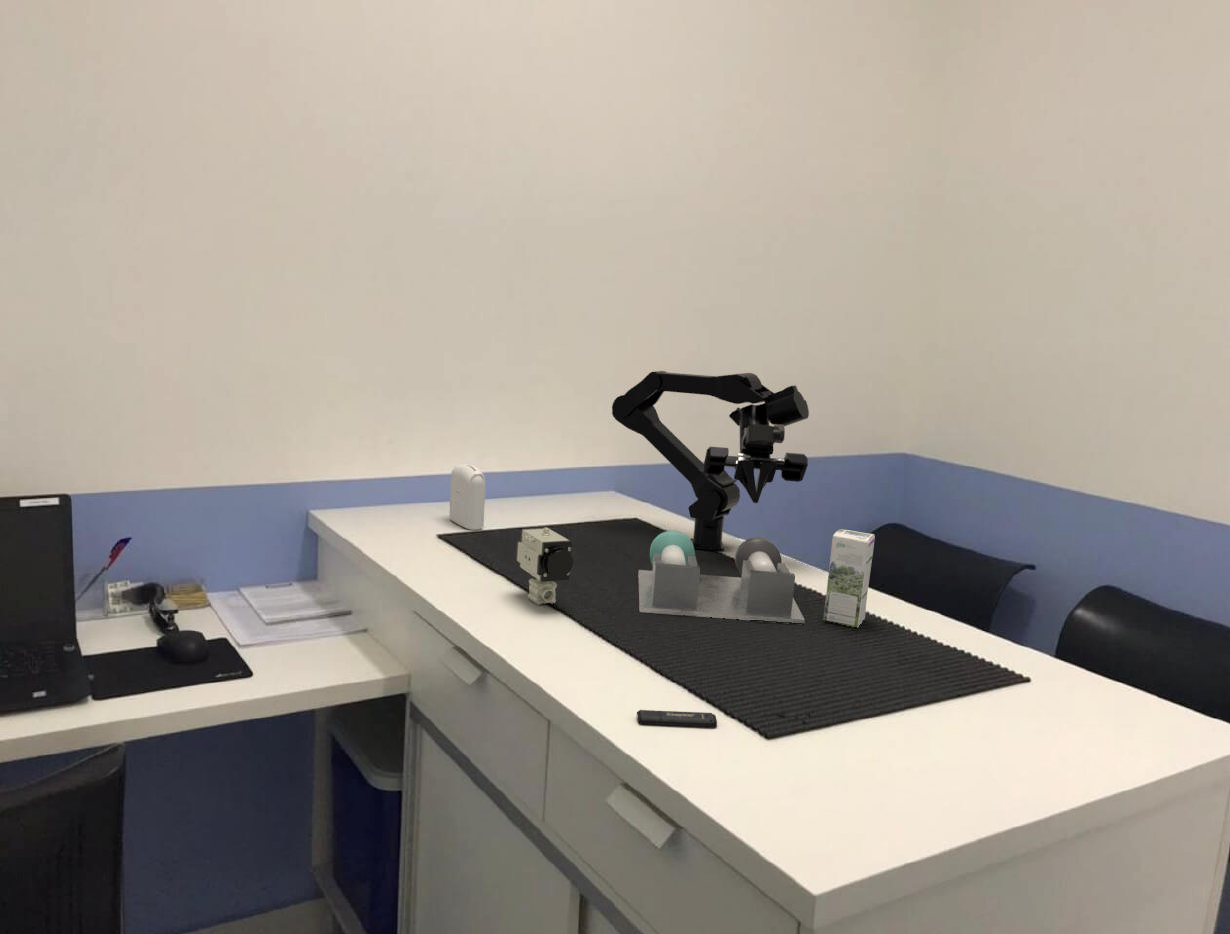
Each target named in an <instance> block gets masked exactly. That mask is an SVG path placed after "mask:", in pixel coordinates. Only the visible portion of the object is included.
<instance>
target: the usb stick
mask: <svg viewBox="0 0 1230 934" xmlns="http://www.w3.org/2000/svg"><path fill="white" fill-rule="evenodd" d="M636 716H637V723H638V724H639V725H640V726H658V727H677V728H681V727H682V728H699V729H700V728H701V729H702V728H704V729H714V728H717V726H718V720H717V716H716V715H715V713H714V714H713V713H712V712H703V711H702V712H700V711H699V712H698V711H697V712H696V711H673V710H652V709H651V710H650V709H648V710H647V709H639V710H638V711H637V712H636Z"/></svg>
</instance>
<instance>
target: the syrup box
mask: <svg viewBox="0 0 1230 934" xmlns="http://www.w3.org/2000/svg"><path fill="white" fill-rule="evenodd" d="M875 538H876V537H875V534H874V533H867V532H861V531H856V530H849V529H843V528H839V529H838V530H836V531H835V533H834V534H833V535H832V540H831V549H830V550H831V551H830V558H829V568H828V577H827V586H826V595H825V603H824V610H823V611H824V612H823V619H822V620H826V621H830V622H833V623H832V624H835V623H838V624H837V625H839V624H841V625H840V626H844V625H846V626H845V627H849V626H851V627H850V628H854V627H857V628H856V629H858V628H859V627H860V626H861V625H862V624H863V622H864V621H865V618H866V612H867V611H866V610H867V601H868V592H869V583H870V576H871V571H872V569H871V568H872V564H873V563H872V560H873V557H874V556H873V554H874V546H875ZM863 620H864V621H863ZM862 621H863V622H862ZM830 622H829V623H830ZM860 624H861V625H860ZM859 625H860V626H859Z"/></svg>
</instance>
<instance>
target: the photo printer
mask: <svg viewBox="0 0 1230 934" xmlns="http://www.w3.org/2000/svg"><path fill="white" fill-rule="evenodd" d="M486 484H487V483H486V478H485V475H484V474H483V472H482V471H481V469H479V468H478V467H476V466H475V465H473V464H470V463H465V464H464V463H459V464H457V465H456V466H454V467H453V468H452V470H451V473H450V490H449V491H450V492H449V494H450V496H449V520H450V521H452V522H454V523H455V524H457V525H459V526H461V527H463V528H465V529H466V530H467V529H468V530H470V531H471V530H472V531H478V530H481V529H482V528H483V527H484V524H485V523H484V522H485V503H486Z"/></svg>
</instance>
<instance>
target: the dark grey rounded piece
mask: <svg viewBox="0 0 1230 934" xmlns="http://www.w3.org/2000/svg"><path fill="white" fill-rule="evenodd" d="M734 556H735V557H734V561H735V562H734V563H735V566H736V568H737V569H736V570H737V572H738V573H739V576H741V577H742V567H743V560H747V561H751V563H752V566H753V568H754V570H755V571H767V572H777V565H778V563H783V562H782V561H783V560H782V556H781V553H780V551H779V549H778V547H777V546H776V545H775V543H774V542H772V541H771V540H769V539H767V538H765V537H762V536H761V537H760V536H755V537H750V538H748V539H746V540H743V542H742V543H741V544H740V545H739V546H738V548H737V550H736V552H735V555H734Z"/></svg>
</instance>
